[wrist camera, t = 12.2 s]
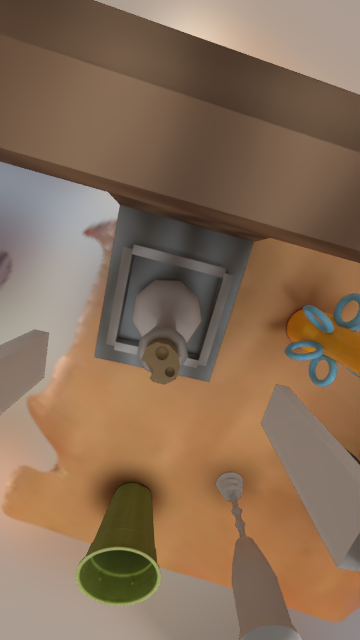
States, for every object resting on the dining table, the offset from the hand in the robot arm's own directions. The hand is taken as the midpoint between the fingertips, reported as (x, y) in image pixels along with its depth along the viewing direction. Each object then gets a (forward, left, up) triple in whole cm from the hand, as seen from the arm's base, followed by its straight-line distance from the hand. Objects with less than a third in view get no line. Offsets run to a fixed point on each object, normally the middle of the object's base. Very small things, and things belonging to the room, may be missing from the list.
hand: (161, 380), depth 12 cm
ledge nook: (0, -2, -21) cm, 21 cm away
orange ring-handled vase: (-21, -2, -21) cm, 29 cm away
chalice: (-19, +30, -21) cm, 41 cm away
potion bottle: (0, 0, -20) cm, 20 cm away
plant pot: (-2, +37, -21) cm, 42 cm away
